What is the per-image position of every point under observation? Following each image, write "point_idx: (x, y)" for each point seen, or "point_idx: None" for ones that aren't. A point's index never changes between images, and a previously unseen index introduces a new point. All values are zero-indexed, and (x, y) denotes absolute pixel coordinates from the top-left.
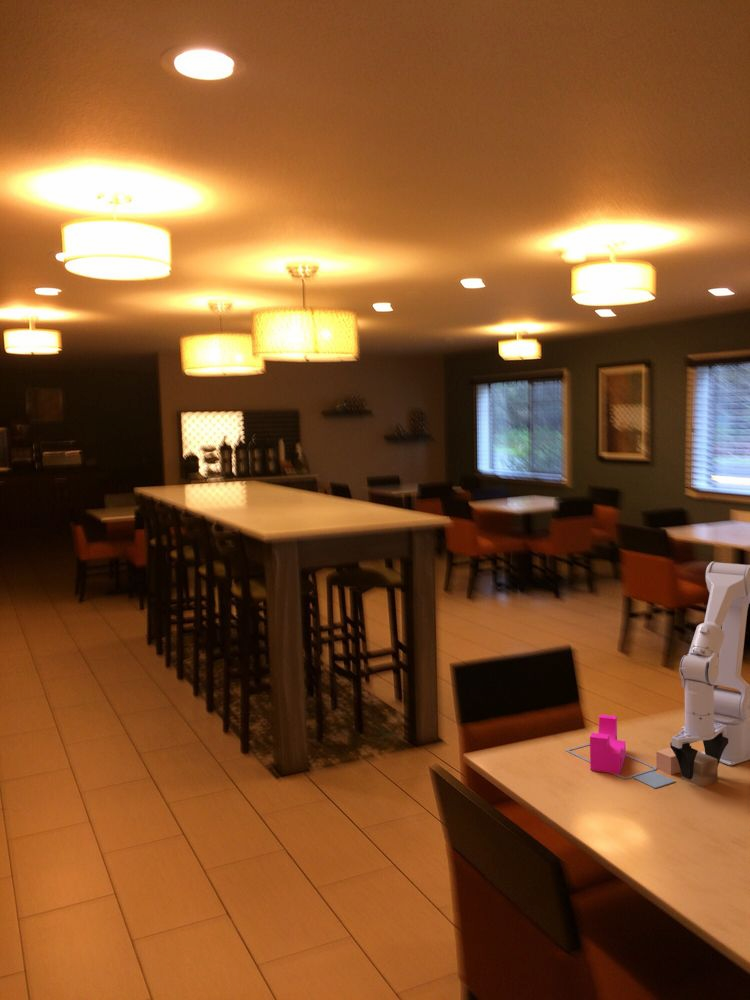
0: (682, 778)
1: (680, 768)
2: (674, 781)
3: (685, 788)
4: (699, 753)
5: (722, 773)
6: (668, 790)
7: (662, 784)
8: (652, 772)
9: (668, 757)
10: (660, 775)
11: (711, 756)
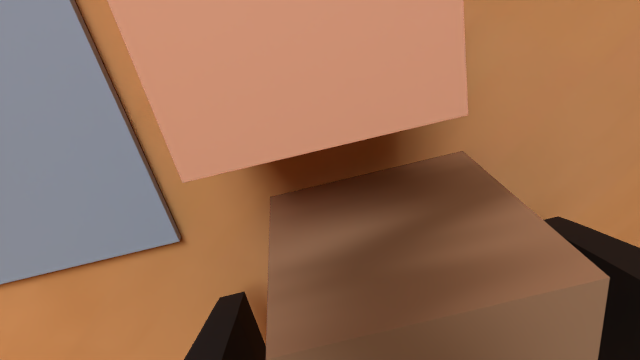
0: (271, 204)
1: (192, 350)
2: (168, 243)
3: (199, 327)
4: (558, 338)
5: (613, 205)
6: (58, 328)
7: (36, 267)
8: (33, 16)
9: (169, 136)
10: (95, 110)
11: (632, 351)
